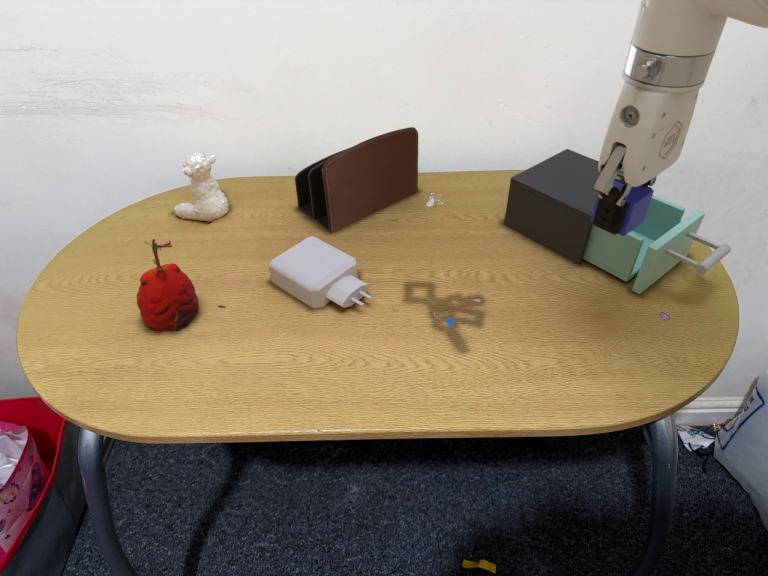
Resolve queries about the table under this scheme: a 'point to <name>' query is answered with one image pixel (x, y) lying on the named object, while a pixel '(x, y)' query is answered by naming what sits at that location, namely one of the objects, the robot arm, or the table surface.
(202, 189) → the sitting furry creature
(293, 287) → the charger
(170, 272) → the red lumpy rounded piece
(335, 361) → the table surface
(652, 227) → the mint green drawer
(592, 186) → the housing
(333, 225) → the letter holder
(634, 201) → the cube
